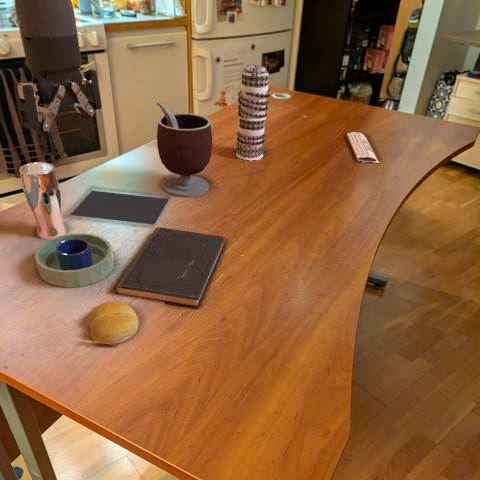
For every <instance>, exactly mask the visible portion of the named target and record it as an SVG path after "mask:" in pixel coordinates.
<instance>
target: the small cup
mask: <svg viewBox="0 0 480 480" xmlns="http://www.w3.org/2000/svg"><path fill="white" fill-rule="evenodd" d="M56 251H57V256H58V260H59V264H60V268H61V270H64V271H67V270H79V269H83V268H87V267H90V266H92V265H93V260H92V255H91V249H90V245H89V242H88V241H86V240H84V239H78V238H73V239H67V240H64V241H62V242H60V243H59V244H58V245H57V246H56Z"/></svg>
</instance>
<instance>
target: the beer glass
mask: <svg viewBox="0 0 480 480" xmlns="http://www.w3.org/2000/svg"><path fill="white" fill-rule="evenodd" d="M19 174H20V181H21V187H22V191H23V194H24V197H25V200H26V202H27V204H28V206H29V209H30V210H31V213H32V215H33V217H34V219H35V223H36V234H37V237H38V238H40V239H43V240H50V239H53V238H55V237H58V236H62V235H67V228H66V226H65V224H64V221H63V217H62V196H61V188H60V183H59V180H58V176H57V173H56V169H55V166H54V165H53V164H52V163H49V162H46V161H45V162H44V161H34V162H30V163H29V162H28V163H26V164H24V165H22V166H20V167H19Z"/></svg>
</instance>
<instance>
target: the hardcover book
mask: <svg viewBox="0 0 480 480" xmlns="http://www.w3.org/2000/svg"><path fill="white" fill-rule="evenodd" d="M225 240H226V236H221V235H214V234H209V233H201V232H195V231H188V230H182V229H175V228H174V229H173V228H168V227H167V228H166V227H161V226H157V227H155V228H154V230H153V231H152V233H151V235H150V236H149V237H148V239H147V240H146V242H145V243H144V244H143V246H142V248H141V249H140V251H139V252H138V253H137V255H136V257H135V258H134V259H133V261H132V263H131V264H130V265H129V266H128V268H127V269H126V271H125V272H124V274H123V275H122V277H121V278H120V280H119V281H118V282H117V284H116V285H115V287H114V291H115V294H116V295H117V294H124V295H129V296H134V297H140V298H147V299H153V300H158V301H164V304H168V305H174V306H178V307H179V306H180V307H184V308H185V307H186V308H190V309H191V308H192V309H199V308H200V306H201V304H202V302H203V298H204V297H205V294H206V292H207V290H208V287H209V285H210V282H211V280H212V277H213V275H214V272H215V271H216V268H217V266H218V264H219V262H220V259H221V256H222V254H223V252H224V250H225V247H226V244H224V242H225Z"/></svg>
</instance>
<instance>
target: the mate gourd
mask: <svg viewBox="0 0 480 480" xmlns="http://www.w3.org/2000/svg"><path fill="white" fill-rule="evenodd" d="M156 105H157V106H159V108H160V109H161V111H162V112H163V115H162V116H161V117H159V118H158V120H157V122H158V123H157V131H156V144H157V145H156V147H157V151H158V156H159V160H160V162H161V164H162V165H163V166H164V167H165V168H166V170H167V171H168V172H170V173H172V174H175V175H177V176H172V177H168V178H167V179H165V180H164V181H163V183H162V189H163V191H164V192H165V193H166V194H169V195H170V196H174V197H178V198H194V197H199V196H202V195H205V194H206V193H207V192H208V191H209V188H210V185H209V182H207V180H205V179H204V178H201V177H199V176H194V175H197V174H200V173H202V172H203V171H205V169H206V167H207V166H208V165H209V164H210V161H211V157H212V152H213V133H212V126H211V120H210V119H209V118H207V117H206V116H203V115H200V114H195V113H184V112H183V113H182V112H181V113H179V112H178V113H173V111H172V110H171V109H169V108H168V107H167V106H166V105H165V104H163V103H161V102H160V101H157V102H156Z"/></svg>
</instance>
